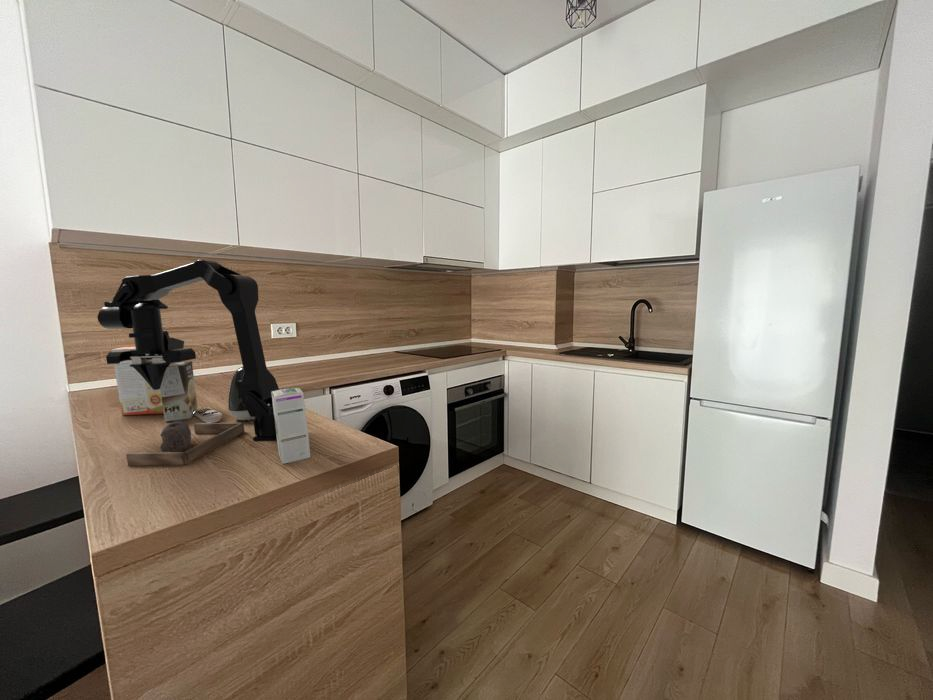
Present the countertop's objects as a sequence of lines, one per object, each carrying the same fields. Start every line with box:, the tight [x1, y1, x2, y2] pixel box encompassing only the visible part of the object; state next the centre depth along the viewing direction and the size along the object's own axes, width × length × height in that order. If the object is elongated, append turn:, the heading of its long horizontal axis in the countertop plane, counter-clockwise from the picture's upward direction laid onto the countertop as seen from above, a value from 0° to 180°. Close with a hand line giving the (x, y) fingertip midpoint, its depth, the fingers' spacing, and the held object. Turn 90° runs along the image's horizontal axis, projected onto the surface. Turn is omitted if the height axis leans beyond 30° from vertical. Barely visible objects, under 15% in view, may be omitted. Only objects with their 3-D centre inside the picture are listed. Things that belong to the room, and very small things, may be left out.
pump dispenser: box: [227, 366, 269, 422], centre depth 109 cm, size 10×10×15 cm
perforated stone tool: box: [159, 419, 192, 452], centre depth 86 cm, size 15×5×7 cm, turn 31°
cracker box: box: [111, 346, 164, 416], centre depth 118 cm, size 14×6×21 cm, turn 92°
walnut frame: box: [125, 422, 245, 466], centre depth 88 cm, size 13×19×2 cm, turn 178°
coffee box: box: [160, 360, 199, 423], centre depth 112 cm, size 9×6×16 cm
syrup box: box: [272, 387, 311, 465], centre depth 80 cm, size 6×6×14 cm
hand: (156, 389), depth 96 cm, fingers closed
